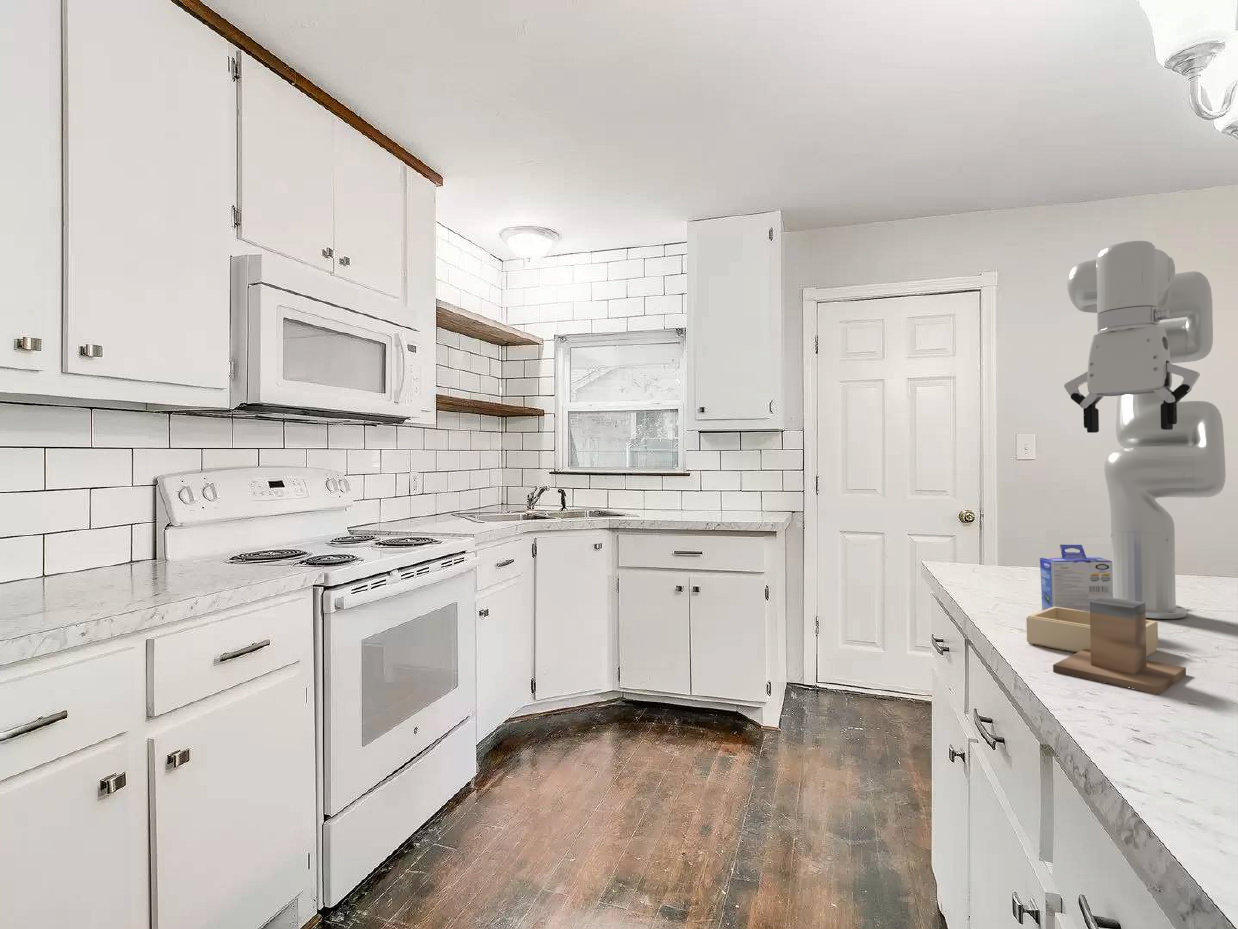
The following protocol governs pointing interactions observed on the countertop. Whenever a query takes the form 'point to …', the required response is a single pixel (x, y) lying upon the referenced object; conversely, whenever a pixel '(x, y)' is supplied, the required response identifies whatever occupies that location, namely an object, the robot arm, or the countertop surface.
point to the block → (1118, 634)
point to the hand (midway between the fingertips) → (1128, 431)
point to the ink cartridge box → (1075, 579)
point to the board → (1122, 673)
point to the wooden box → (1072, 630)
